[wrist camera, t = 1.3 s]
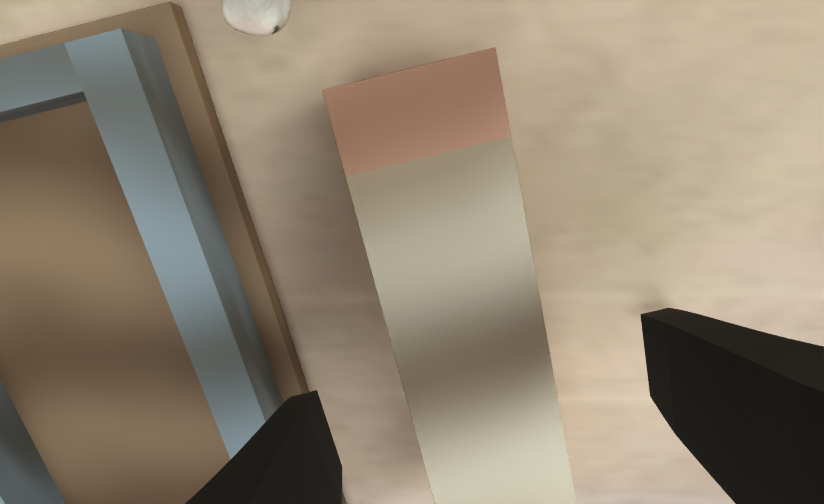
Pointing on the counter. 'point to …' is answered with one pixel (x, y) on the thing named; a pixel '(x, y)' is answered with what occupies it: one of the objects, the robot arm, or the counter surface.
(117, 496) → the tray
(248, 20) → the bull figurine
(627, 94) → the counter surface
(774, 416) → the robot arm
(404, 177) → the two-tone wooden block
